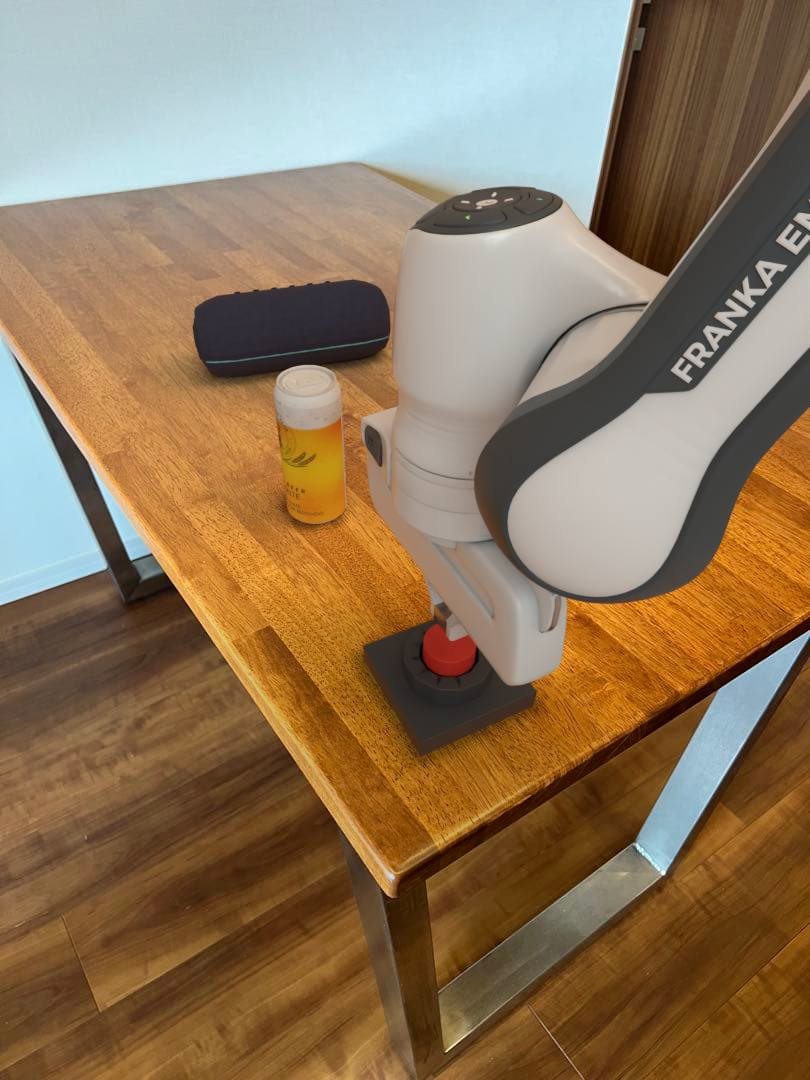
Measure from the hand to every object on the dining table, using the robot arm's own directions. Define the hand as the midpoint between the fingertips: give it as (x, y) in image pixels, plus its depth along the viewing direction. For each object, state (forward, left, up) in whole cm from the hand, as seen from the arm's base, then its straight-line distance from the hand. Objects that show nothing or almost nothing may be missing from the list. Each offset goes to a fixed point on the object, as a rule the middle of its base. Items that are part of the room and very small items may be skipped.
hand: (449, 625), depth 54 cm
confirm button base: (0, 0, -7) cm, 7 cm away
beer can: (+25, +1, -7) cm, 26 cm away
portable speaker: (+55, -8, -7) cm, 56 cm away
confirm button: (0, 0, -4) cm, 4 cm away
